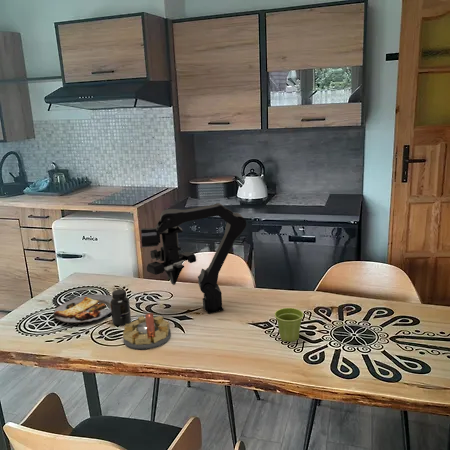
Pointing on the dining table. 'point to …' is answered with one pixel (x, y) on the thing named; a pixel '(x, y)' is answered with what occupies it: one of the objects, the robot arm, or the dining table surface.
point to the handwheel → (152, 335)
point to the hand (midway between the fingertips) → (173, 284)
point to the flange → (143, 330)
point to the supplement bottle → (120, 308)
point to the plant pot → (289, 323)
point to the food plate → (83, 309)
